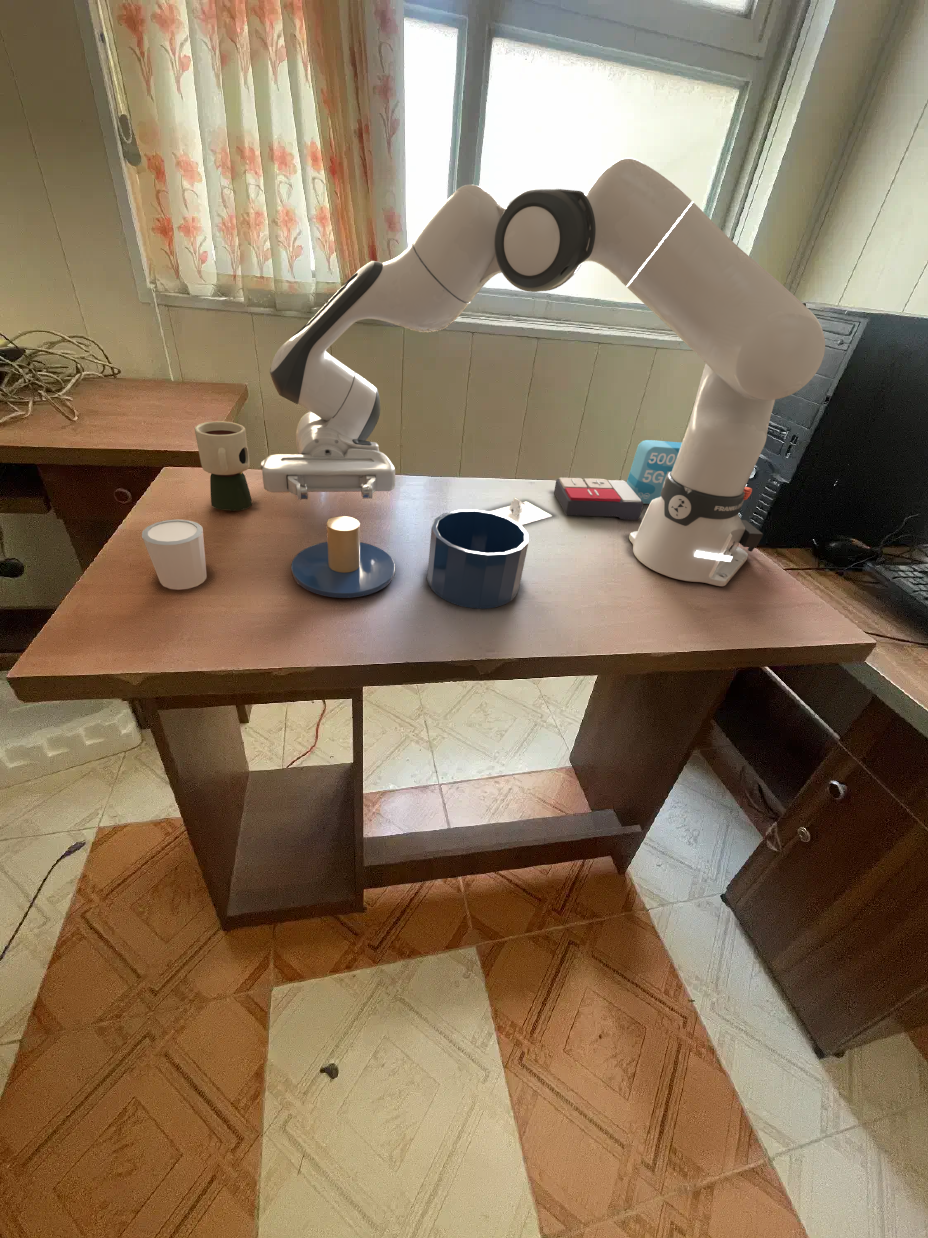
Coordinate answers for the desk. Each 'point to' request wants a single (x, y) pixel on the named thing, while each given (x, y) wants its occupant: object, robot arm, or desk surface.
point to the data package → (652, 468)
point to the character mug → (225, 463)
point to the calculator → (598, 498)
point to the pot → (476, 558)
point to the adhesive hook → (522, 512)
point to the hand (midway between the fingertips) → (335, 494)
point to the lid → (343, 563)
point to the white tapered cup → (177, 552)
